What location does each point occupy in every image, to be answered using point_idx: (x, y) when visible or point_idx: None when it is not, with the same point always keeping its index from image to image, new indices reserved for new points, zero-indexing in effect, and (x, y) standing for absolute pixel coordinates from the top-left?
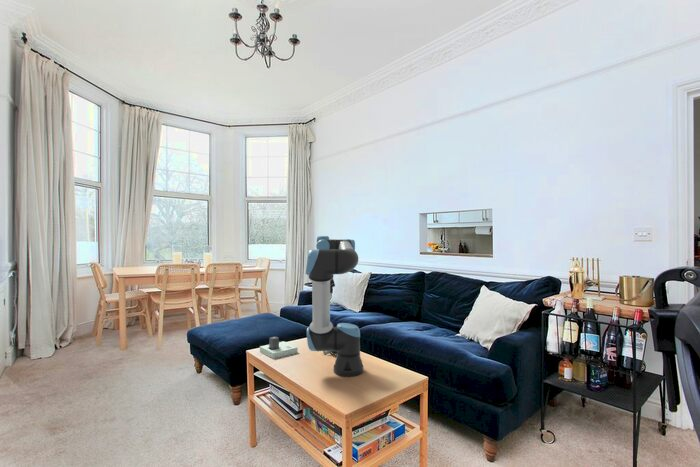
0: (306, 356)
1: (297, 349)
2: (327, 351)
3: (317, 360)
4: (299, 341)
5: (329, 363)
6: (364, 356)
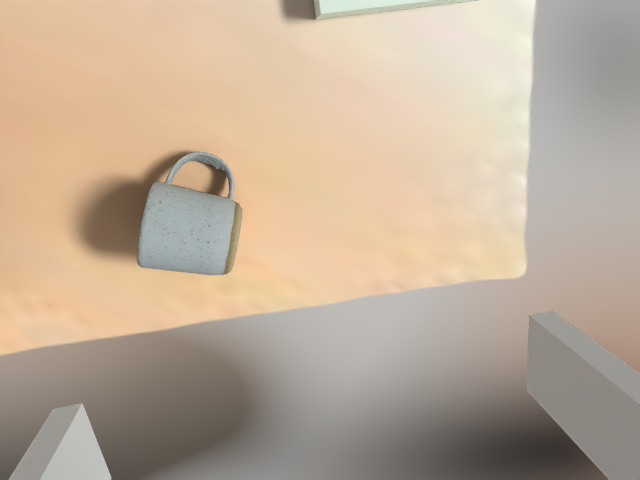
0: (213, 34)
1: (318, 15)
2: (171, 168)
3: (106, 59)
4: (503, 138)
5: (18, 98)
6: (51, 328)
